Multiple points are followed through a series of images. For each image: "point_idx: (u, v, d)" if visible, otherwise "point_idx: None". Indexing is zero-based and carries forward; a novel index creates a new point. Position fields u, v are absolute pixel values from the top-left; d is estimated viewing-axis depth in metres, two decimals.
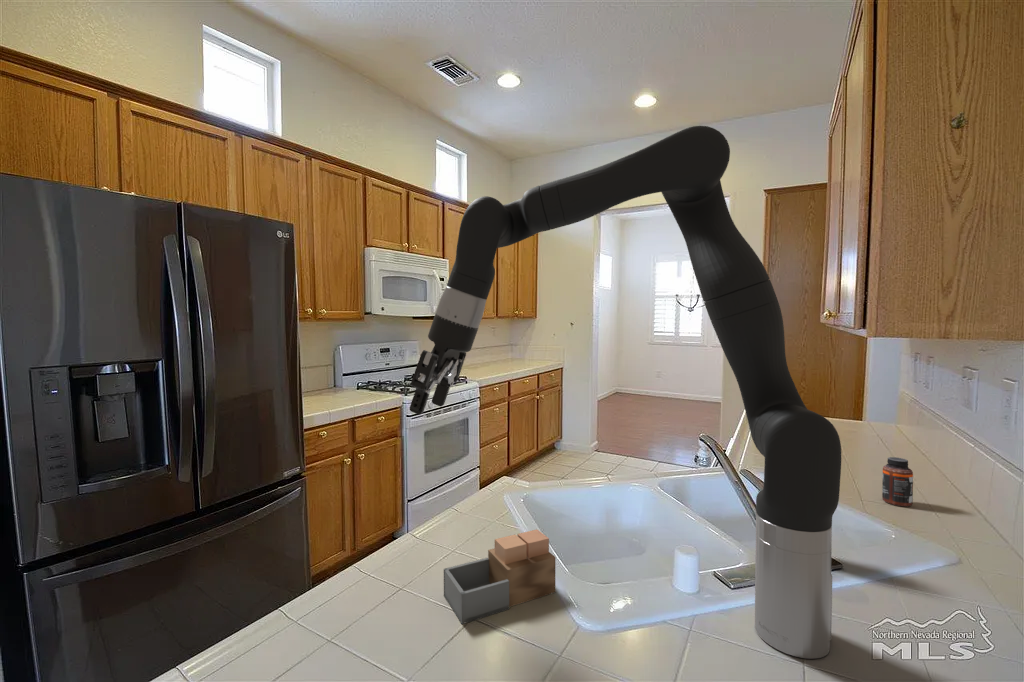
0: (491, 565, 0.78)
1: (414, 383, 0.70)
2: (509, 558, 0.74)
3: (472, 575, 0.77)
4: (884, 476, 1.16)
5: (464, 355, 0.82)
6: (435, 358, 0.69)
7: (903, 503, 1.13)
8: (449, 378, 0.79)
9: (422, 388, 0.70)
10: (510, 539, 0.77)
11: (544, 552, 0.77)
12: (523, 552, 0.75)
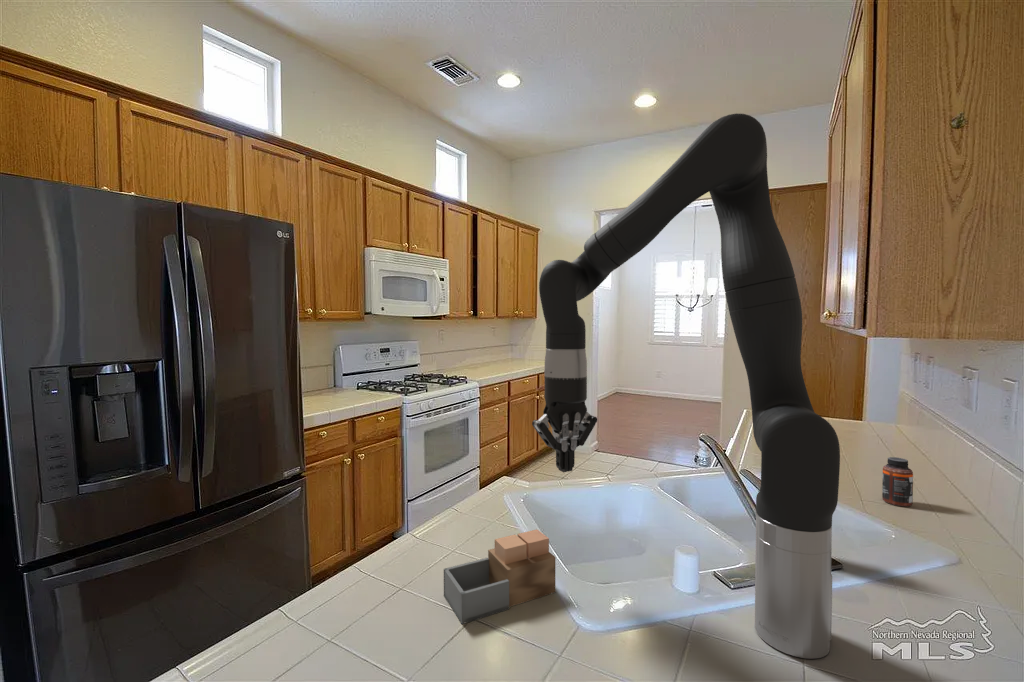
0: (491, 565, 0.78)
1: (548, 445, 0.80)
2: (509, 558, 0.74)
3: (472, 575, 0.77)
4: (884, 476, 1.16)
5: (594, 419, 0.82)
6: (540, 427, 0.77)
7: (903, 503, 1.13)
8: (570, 436, 0.80)
9: (552, 446, 0.79)
10: (510, 539, 0.77)
11: (544, 552, 0.77)
12: (523, 552, 0.75)
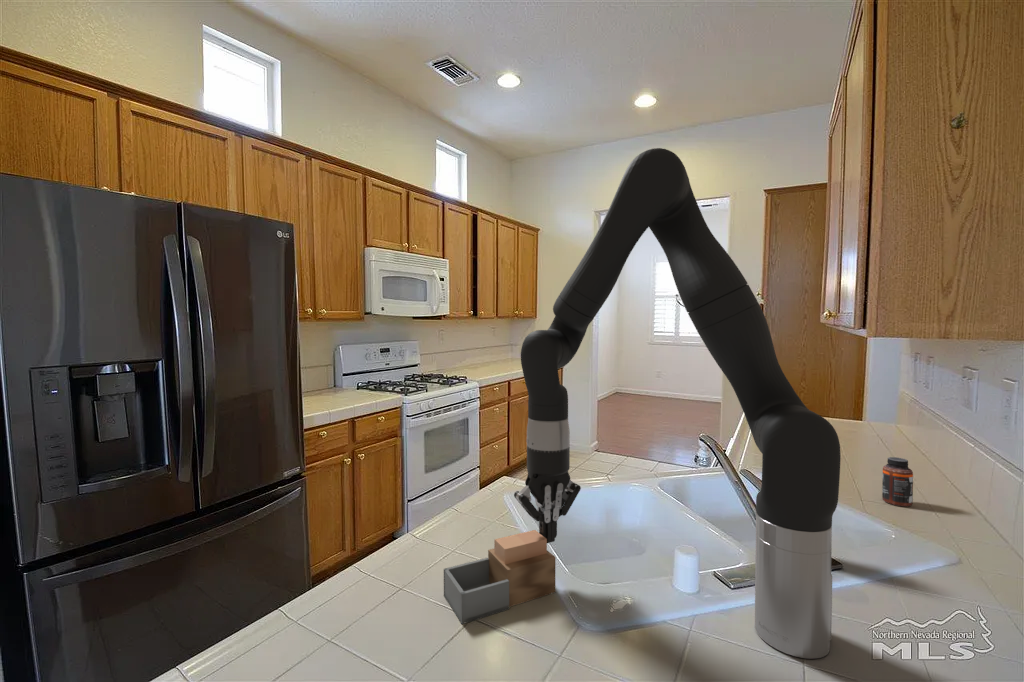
0: (491, 565, 0.78)
1: (531, 516, 0.79)
2: (509, 558, 0.74)
3: (472, 575, 0.77)
4: (884, 476, 1.16)
5: (577, 487, 0.81)
6: (521, 500, 0.76)
7: (903, 503, 1.13)
8: (552, 506, 0.79)
9: (535, 518, 0.78)
10: (510, 539, 0.77)
11: (542, 553, 0.77)
12: (523, 552, 0.75)
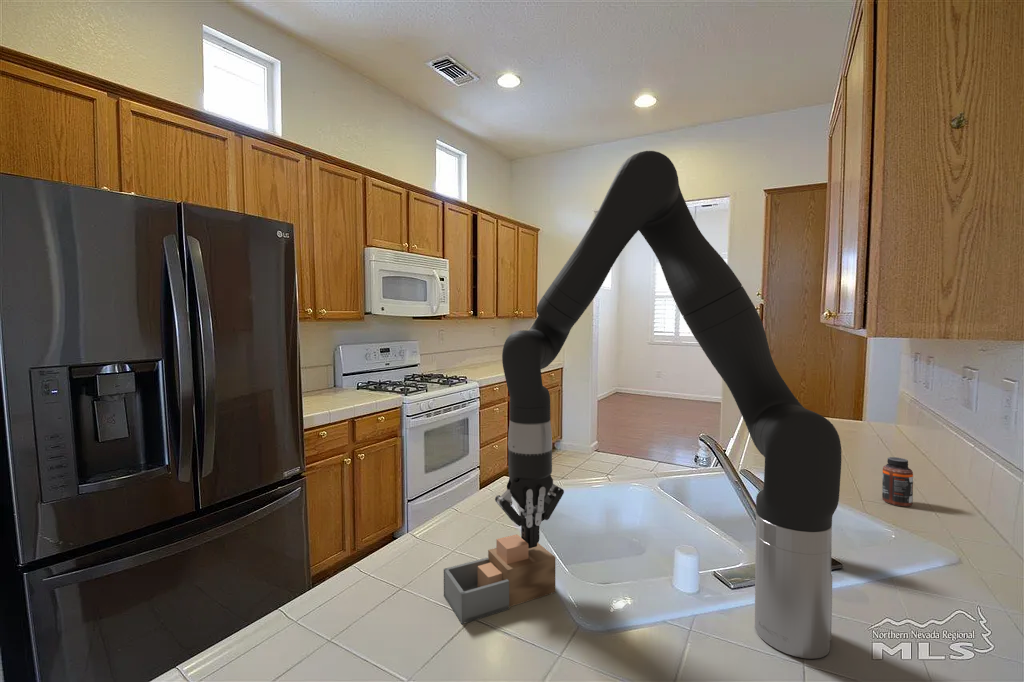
0: None
1: None
2: None
3: (472, 575, 0.77)
4: (884, 476, 1.16)
5: (560, 491, 0.79)
6: (502, 505, 0.74)
7: (903, 503, 1.13)
8: (535, 511, 0.78)
9: None
10: (481, 579, 0.75)
11: (523, 558, 0.75)
12: (495, 578, 0.73)
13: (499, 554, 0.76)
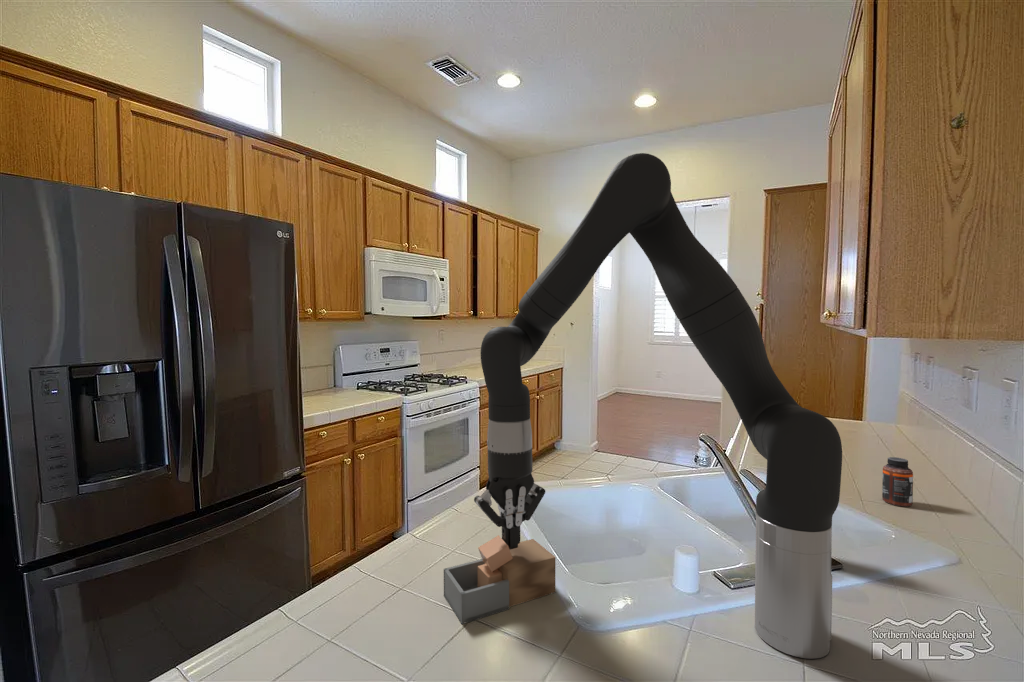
0: None
1: (492, 521, 0.76)
2: None
3: (472, 575, 0.77)
4: (884, 476, 1.16)
5: (541, 491, 0.78)
6: (480, 505, 0.73)
7: (903, 503, 1.13)
8: (515, 511, 0.76)
9: (496, 524, 0.74)
10: (481, 579, 0.75)
11: (507, 560, 0.74)
12: (495, 578, 0.73)
13: (484, 561, 0.75)
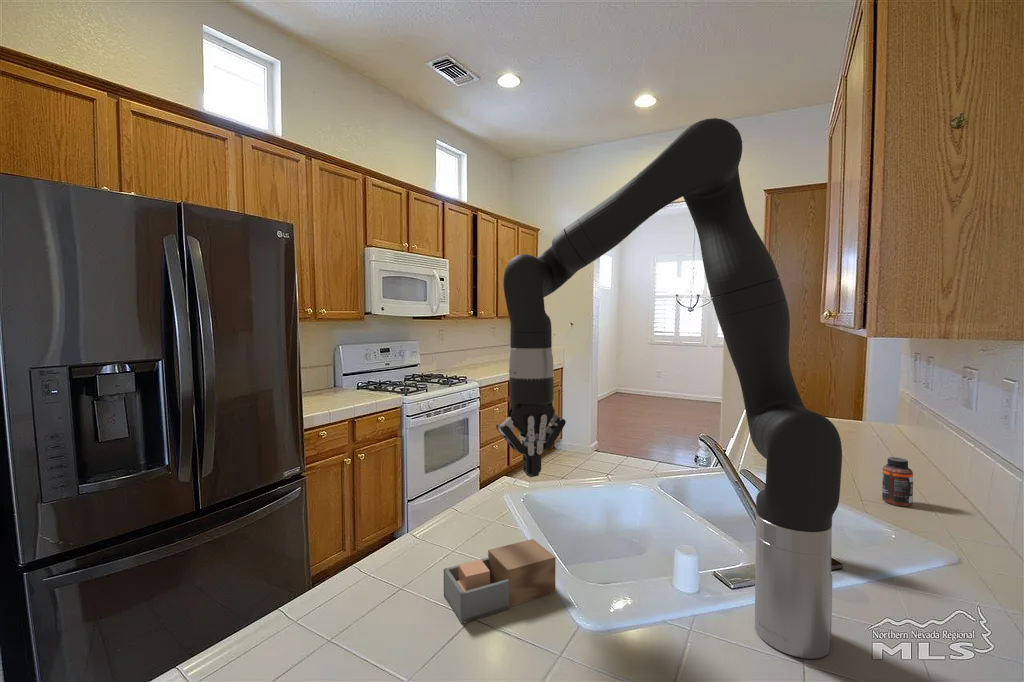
0: (491, 565, 0.78)
1: (514, 449, 0.77)
2: None
3: None
4: (884, 476, 1.16)
5: (562, 421, 0.79)
6: (503, 430, 0.74)
7: (903, 503, 1.13)
8: (536, 439, 0.77)
9: (518, 450, 0.75)
10: None
11: None
12: None
13: (460, 580, 0.74)
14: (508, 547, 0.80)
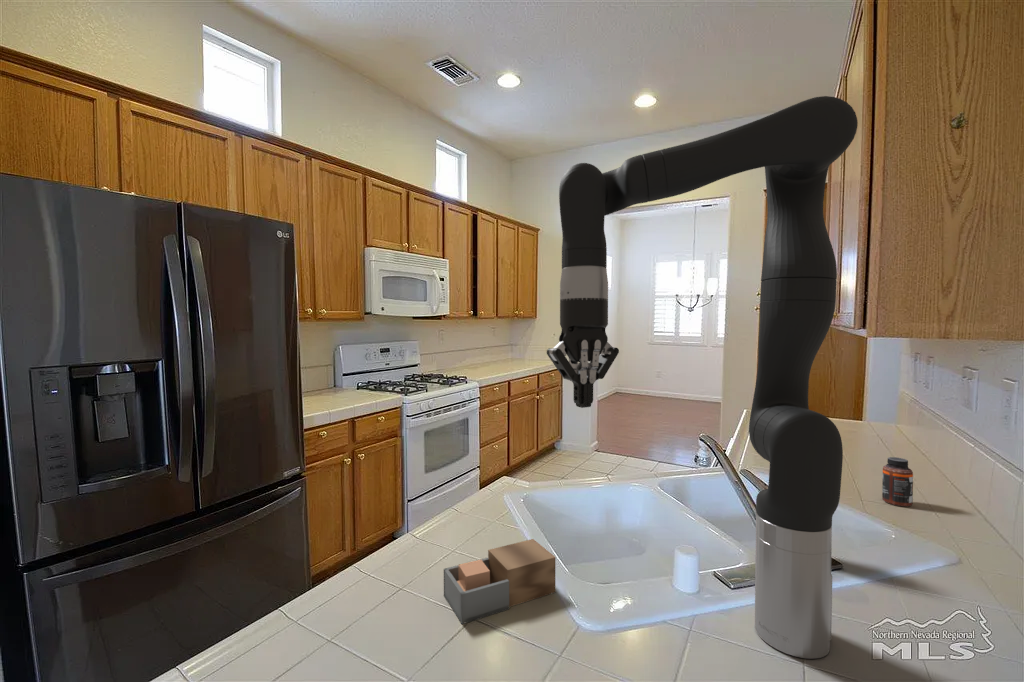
0: (491, 565, 0.78)
1: (565, 377, 0.71)
2: None
3: None
4: (884, 476, 1.16)
5: (615, 350, 0.73)
6: (556, 354, 0.68)
7: (903, 503, 1.13)
8: (589, 367, 0.71)
9: (570, 377, 0.70)
10: None
11: None
12: None
13: (460, 580, 0.74)
14: (508, 547, 0.80)
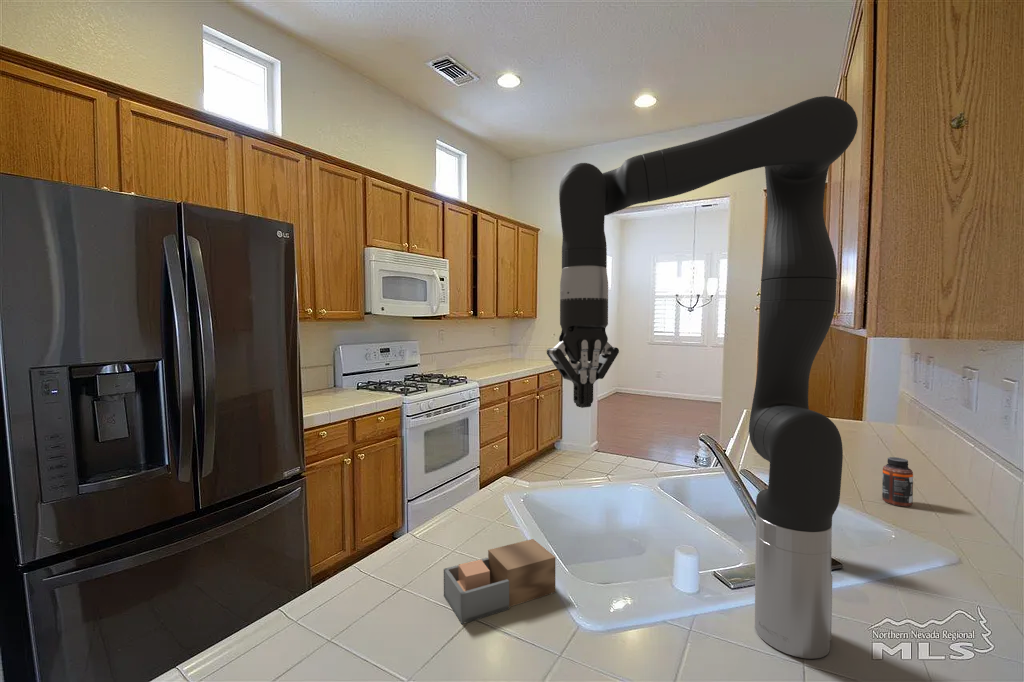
0: (491, 565, 0.78)
1: (565, 377, 0.71)
2: None
3: None
4: (884, 476, 1.16)
5: (615, 350, 0.73)
6: (556, 354, 0.68)
7: (903, 503, 1.13)
8: (589, 367, 0.71)
9: (570, 377, 0.70)
10: None
11: None
12: None
13: (460, 580, 0.74)
14: (508, 547, 0.80)
